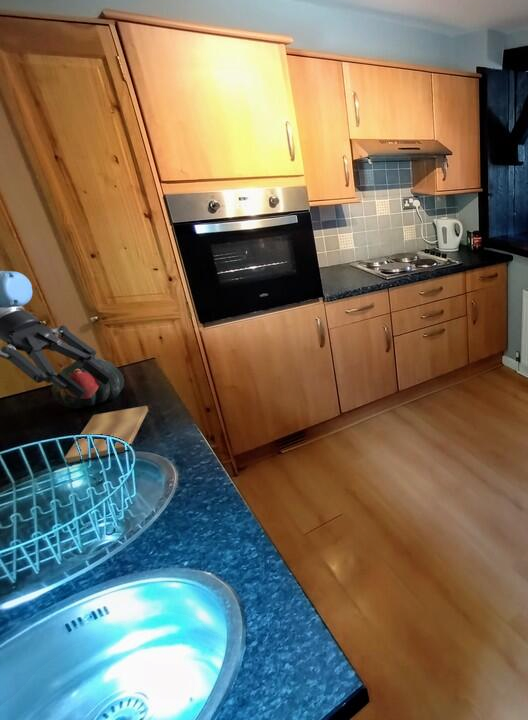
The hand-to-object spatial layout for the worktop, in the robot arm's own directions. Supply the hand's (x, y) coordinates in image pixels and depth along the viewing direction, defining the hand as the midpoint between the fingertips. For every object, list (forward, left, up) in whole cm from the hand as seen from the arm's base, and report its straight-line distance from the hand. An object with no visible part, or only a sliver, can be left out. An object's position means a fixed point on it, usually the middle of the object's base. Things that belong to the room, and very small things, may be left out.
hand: (96, 387), depth 108 cm
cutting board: (-3, +5, -16) cm, 18 cm away
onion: (-3, +2, -4) cm, 5 cm away
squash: (-12, +27, -17) cm, 34 cm away
